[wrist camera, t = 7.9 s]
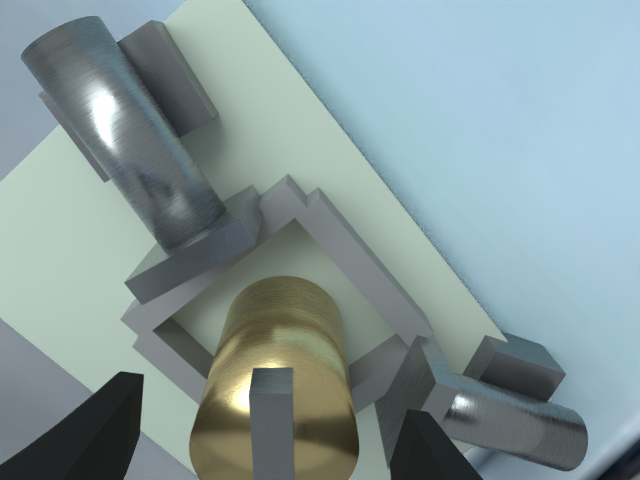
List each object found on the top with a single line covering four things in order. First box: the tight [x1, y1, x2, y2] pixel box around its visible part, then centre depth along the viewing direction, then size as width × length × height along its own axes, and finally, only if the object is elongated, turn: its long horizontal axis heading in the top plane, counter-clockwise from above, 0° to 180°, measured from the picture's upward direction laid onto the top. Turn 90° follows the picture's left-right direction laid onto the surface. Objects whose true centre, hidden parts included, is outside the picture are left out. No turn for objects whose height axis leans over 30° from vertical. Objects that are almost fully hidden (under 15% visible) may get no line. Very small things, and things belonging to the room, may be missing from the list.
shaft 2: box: [374, 332, 588, 471], centre depth 17 cm, size 7×4×5 cm, turn 69°
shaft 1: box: [21, 16, 263, 305], centre depth 14 cm, size 7×4×5 cm, turn 29°
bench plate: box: [0, 0, 553, 480], centre depth 17 cm, size 14×20×2 cm
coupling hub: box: [189, 276, 359, 480], centre depth 15 cm, size 5×4×7 cm
